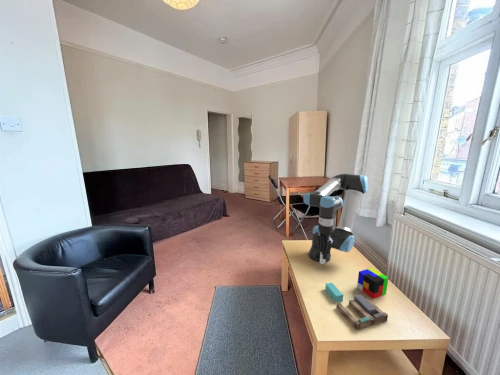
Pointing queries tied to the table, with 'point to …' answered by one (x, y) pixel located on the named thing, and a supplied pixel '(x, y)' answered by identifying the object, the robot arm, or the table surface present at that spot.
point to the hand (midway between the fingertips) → (322, 262)
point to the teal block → (334, 292)
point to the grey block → (365, 304)
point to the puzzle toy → (372, 283)
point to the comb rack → (362, 315)
